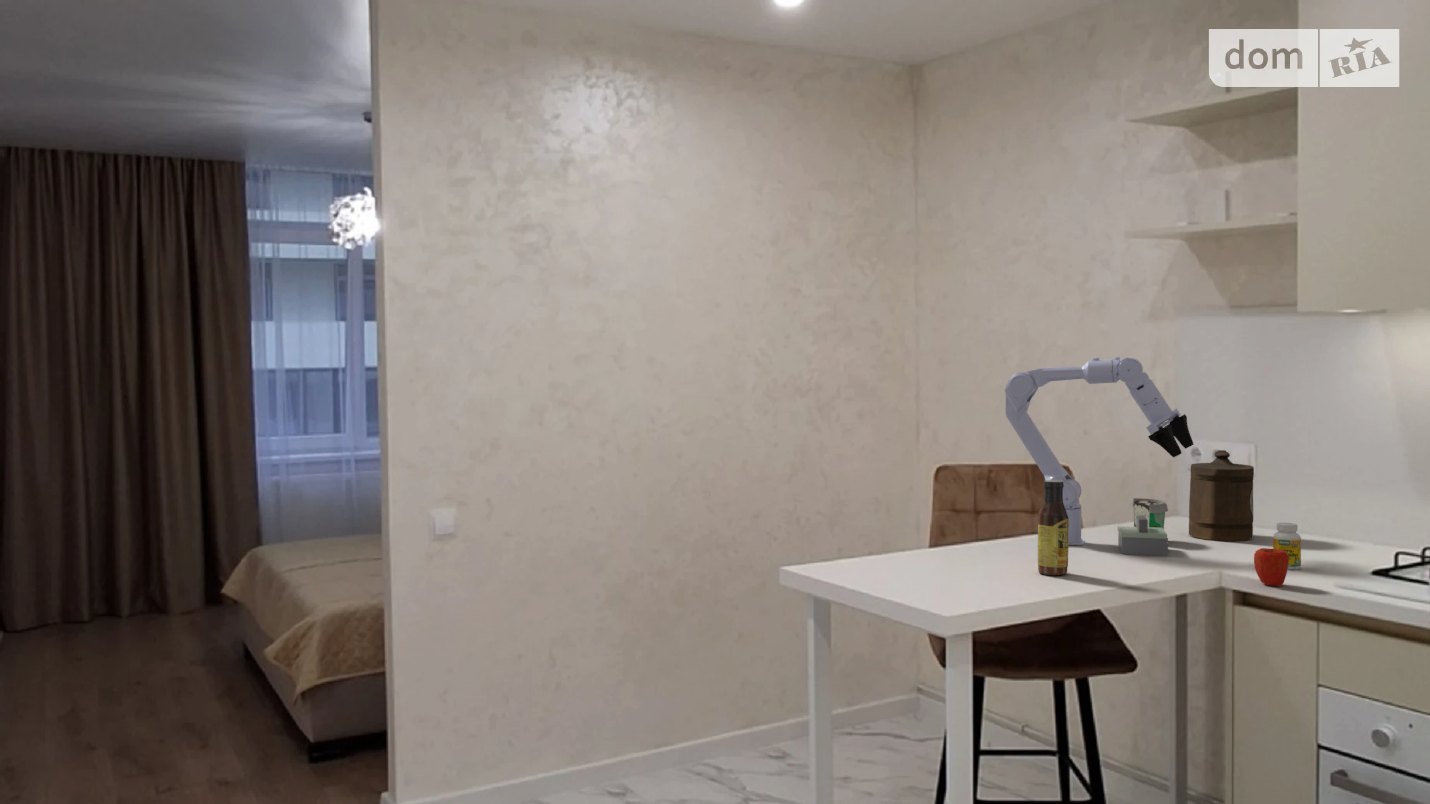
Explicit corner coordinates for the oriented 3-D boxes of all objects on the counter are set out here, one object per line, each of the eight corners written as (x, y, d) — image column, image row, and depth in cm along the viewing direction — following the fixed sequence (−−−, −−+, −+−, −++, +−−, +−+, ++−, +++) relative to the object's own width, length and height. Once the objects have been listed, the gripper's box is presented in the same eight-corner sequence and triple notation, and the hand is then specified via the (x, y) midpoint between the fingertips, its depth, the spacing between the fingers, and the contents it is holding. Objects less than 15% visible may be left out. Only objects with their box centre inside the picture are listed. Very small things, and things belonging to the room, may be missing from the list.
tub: (1121, 554, 258) (1121, 537, 258) (1118, 546, 268) (1118, 530, 267) (1167, 555, 255) (1168, 538, 255) (1162, 548, 265) (1162, 531, 265)
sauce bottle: (1063, 577, 232) (1064, 483, 231) (1033, 574, 235) (1034, 481, 234) (1071, 572, 237) (1072, 480, 237) (1042, 569, 241) (1042, 478, 240)
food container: (1175, 545, 269) (1176, 504, 268) (1150, 545, 269) (1150, 504, 268) (1156, 537, 281) (1157, 497, 280) (1132, 537, 281) (1132, 498, 281)
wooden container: (1266, 539, 276) (1267, 451, 275) (1217, 543, 272) (1218, 453, 271) (1223, 530, 290) (1224, 446, 289) (1175, 533, 286) (1176, 448, 285)
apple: (1246, 583, 225) (1247, 547, 224) (1268, 580, 227) (1268, 544, 227) (1273, 589, 219) (1274, 552, 219) (1295, 586, 222) (1296, 549, 221)
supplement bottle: (1298, 566, 242) (1298, 522, 242) (1303, 570, 237) (1303, 526, 237) (1270, 564, 244) (1271, 521, 243) (1275, 569, 239) (1275, 525, 238)
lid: (1121, 540, 258) (1121, 520, 257) (1117, 533, 267) (1117, 513, 267) (1167, 542, 255) (1167, 521, 255) (1161, 535, 265) (1162, 515, 264)
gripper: (1153, 401, 256) (1186, 451, 254) (1176, 387, 267) (1209, 435, 264) (1128, 415, 261) (1161, 465, 259) (1152, 400, 271) (1184, 448, 269)
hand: (1183, 451), depth 262 cm, fingers open, 7 cm apart
